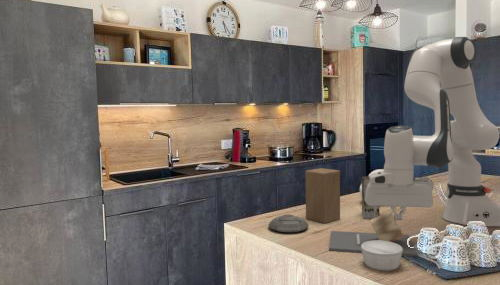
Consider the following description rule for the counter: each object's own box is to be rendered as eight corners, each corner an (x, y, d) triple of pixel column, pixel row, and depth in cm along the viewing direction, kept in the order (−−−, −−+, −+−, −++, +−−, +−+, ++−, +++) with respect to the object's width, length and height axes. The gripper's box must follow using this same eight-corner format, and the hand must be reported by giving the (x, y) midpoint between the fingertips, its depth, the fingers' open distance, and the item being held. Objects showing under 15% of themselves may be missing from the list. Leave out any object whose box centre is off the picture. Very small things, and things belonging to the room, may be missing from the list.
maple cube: (400, 229, 126) (389, 210, 127) (403, 236, 119) (392, 216, 120) (381, 238, 128) (370, 219, 128) (383, 245, 121) (371, 226, 122)
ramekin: (362, 271, 104) (362, 252, 104) (359, 256, 115) (359, 239, 115) (406, 274, 102) (406, 254, 102) (398, 258, 113) (398, 240, 113)
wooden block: (321, 214, 163) (321, 167, 161) (340, 219, 155) (340, 170, 154) (305, 218, 157) (304, 170, 155) (324, 223, 149) (324, 173, 147)
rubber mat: (408, 237, 131) (408, 233, 131) (418, 256, 114) (418, 252, 114) (331, 233, 137) (331, 229, 137) (329, 250, 120) (329, 246, 120)
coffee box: (380, 219, 154) (380, 179, 153) (363, 218, 155) (363, 179, 154) (377, 213, 163) (377, 175, 162) (361, 212, 164) (361, 175, 163)
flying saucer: (316, 230, 142) (316, 215, 142) (284, 238, 134) (284, 222, 134) (291, 221, 155) (291, 207, 154) (260, 227, 147) (260, 213, 146)
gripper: (431, 176, 122) (430, 218, 123) (364, 174, 127) (364, 215, 128) (436, 179, 116) (435, 224, 117) (366, 178, 121) (365, 220, 122)
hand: (398, 219), depth 123 cm, fingers closed
